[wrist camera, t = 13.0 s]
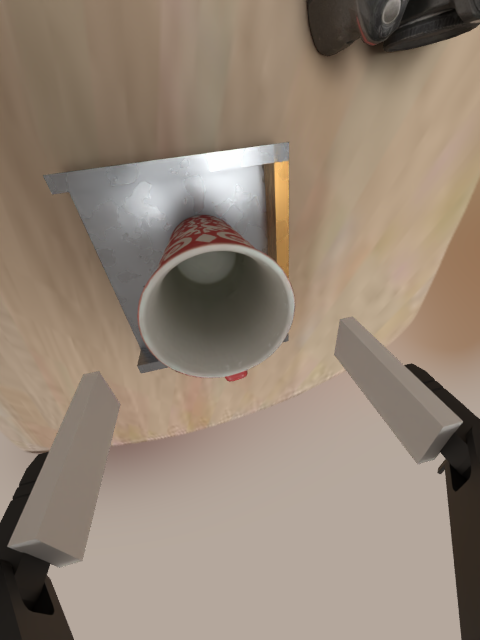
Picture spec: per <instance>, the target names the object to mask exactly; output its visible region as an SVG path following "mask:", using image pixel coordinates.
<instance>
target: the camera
mask: <svg viewBox="0 0 480 640" xmlns="http://www.w3.org/2000/svg"><path fill="white" fill-rule="evenodd" d="M308 18H309V23H310V28H311V33H312V37H313V40H314V43H315V46H316V48H317V50H318V52H320V53H321V54H324V55H327V56H330V55H333V54H336V53H338V52H340V51H341V50H343V49H345V48H347V47H348V46H349V45H351V44H352V43H353V42H354V41H356V40H357V39H358V38H359V37H361V38H362V40H363V42H364V43H366V44H369V45H371V46H372V45H376V44H378V43H380V42H382V41H384V45H383V49H384V51H386V52H393V51H399V50H408V49H412V48H417V47H421V46H425V45H429V44H433V43H436V42H440V41H443V40H447V39H450V38H453V37H456V36H458V35H461V34H463V33H466V32H468V31H471V30H472V29H474V28H476V27H477V26H478V25H479V24H480V0H308Z"/></svg>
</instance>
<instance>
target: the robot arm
mask: <svg viewBox="0 0 480 640" xmlns="http://www.w3.org/2000/svg"><path fill="white" fill-rule="evenodd" d="M334 355H335V356H336V358H337V359H338V360H339V362H340V363H341V364H342V366H343V367H344V368H345V370H346V371H347V372H348V374H349V375H350V376H351V377H352V379H353V380H354V381H355V383H356V384H357V385H358V387H359V388H360V389H361V391H362V392H363V393H364V394H365V396H366V397H367V398H368V400H369V401H370V402H371V404H372V405H373V406H374V408H375V409H376V410H377V412H378V413H379V414H380V416H381V417H382V418H383V419H384V421H385V422H386V423H387V425H388V426H389V427H390V429H391V430H392V431H393V433H394V434H395V435H396V436H397V438H398V439H399V440H400V442H401V443H402V444H403V446H404V447H405V448H406V450H407V451H408V452H409V454H410V455H411V456H412V458H413V459H414V460H415V461H416V463H417V464H421V463H424V462H427V461H431V460H434V459H435V458H436V457H437V456H438V454H439V453H440V452H441V454H442V455H443V456H444V457H445V458H446V460H445V461H444V462H443V463H442V464H441V466H440V467H439V468H438V473H439V474H441V473H442V472H443V471H444V470H445V475H446V485H447V495H448V504H449V505H448V506H449V516H450V526H451V536H452V546H453V556H454V567H455V577H456V587H457V597H458V607H459V618H460V628H461V638H462V640H480V419H479V418H478V417H476V416H475V415H474V414H473V413H472V412H471V411H470V410H469V409H467V408H466V407H465V406H464V405H463V404H462V403H461V402H460V401H458V400H457V399H456V398H455V397H454V396H453V395H452V394H451V393H449V392H448V391H447V390H446V389H444V388H443V386H441V385H440V384H439V383H438V382H437V381H435V380H434V378H433V377H431V376H430V375H429V374H428V373H427V372H426V371H425V370H423V369H421V368H419V367H417V366H416V365H414V364H407V365H403V364H402V363H401V362H400V361H399V360H398V359H397V358H396V357H395V356H394V355H393V354H391V352H389V351H388V350H387V349H386V348H385V347H384V346H383V345H382V344H381V343H380V342H379V341H378V340H377V339H376V338H375V337H374V336H373V335H372V334H371V333H369V332H368V331H367V330H366V329H365V328H364V327H363V326H362V325H361V324H360V323H359V322H358V321H357V320H356V319H355V318H354V317H348V318H344V319H340V322H339V329H338V335H337V341H336V347H335V353H334ZM119 408H120V403H119V401H118V400H117V398H116V397H115V395H114V393H113V392H112V390H111V389H110V387H109V386H108V384H107V383H106V381H105V380H104V378H103V377H102V375H101V373H100V372H99V371H97V372H93V373H88V374H83V376H82V379H81V381H80V383H79V385H78V388H77V390H76V392H75V394H74V397H73V399H72V401H71V403H70V406H69V408H68V410H67V413H66V415H65V417H64V419H63V422H62V424H61V426H60V428H59V431H58V433H57V435H56V437H55V440H54V442H53V444H52V446H51V449H50V451H49V452H46V453H42V454H38V456H37V457H36V458H35V459H34V461H33V462H32V463H31V464H30V465H29V467H28V468H27V469H26V471H25V473H24V475H23V477H22V479H21V481H20V484H19V487H18V488H17V490H16V492H15V494H14V496H13V500H12V501H11V502H10V504H9V506H8V508H7V510H6V512H5V514H4V516H3V518H2V520H1V522H0V640H74V639H73V636H72V633H71V631H70V628H69V626H68V623H67V620H66V618H65V616H64V613H63V610H62V608H61V605H60V603H59V600H58V597H57V595H56V592H55V590H54V587H53V585H52V582H51V580H50V578H49V577H48V576H47V572H48V569H49V566H50V564H52V565H55V566H57V567H63V566H66V565H70V564H73V563H76V562H80V561H82V559H83V555H84V552H85V547H86V543H87V539H88V535H89V531H90V527H91V523H92V519H93V515H94V510H95V506H96V502H97V498H98V494H99V489H100V486H101V481H102V477H103V473H104V469H105V465H106V461H107V457H108V453H109V449H110V445H111V440H112V436H113V432H114V428H115V424H116V420H117V416H118V412H119Z"/></svg>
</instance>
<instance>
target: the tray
mask: <svg viewBox="0 0 480 640" xmlns="http://www.w3.org/2000/svg"><path fill="white" fill-rule="evenodd" d="M43 177H44V179H45V181H46V183H47V185H48V187H49V189H50V191H51V193H52V194H59V193H66V192H69V193H70V195H71V197H72V200H73V202H74V204H75V206H76V208H77V210H78V213H79V215H80V217H81V219H82V221H83V224H84V226H85V228H86V230H87V232H88V235H89V237H90V239H91V241H92V243H93V245H94V248H95V250H96V252H97V254H98V256H99V259H100V261H101V263H102V265H103V267H104V269H105V272H106V274H107V276H108V278H109V280H110V283H111V285H112V287H113V289H114V291H115V293H116V296H117V298H118V300H119V302H120V304H121V307H122V309H123V311H124V313H125V315H126V317H127V320H128V322H129V324H130V326H131V328H132V331H133V333H134V335H135V337H136V339H137V341H138V344H139V346H140V348H141V352H140V356H139V361H138V365H137V366H138V368H139V370H140V372H141V373H145V372H149V371H154V370H158V369H163V368H168V367H167V366H166V365H164V364H163V363H162V362H160V361H159V360H158V359H157V358H156V357H155V356H154V355H153V354H152V353H151V352H150V351H149V349H148V348H147V346H146V344H145V343H144V341H143V339H142V337H141V334H140V330H139V326H138V318H137V314H138V305H139V300H140V297H141V294H142V291H143V289H144V287H145V285H146V283H147V282H148V280H149V279H150V277H151V276H152V275H153V274H154V272H155V271H156V270H157V268H158V265H159V263H160V261H161V259H162V256H163V254H164V252H165V249H166V247H167V245H168V243H169V240H170V237H171V235H172V233H173V231H174V230H175V229H176V227H177V226H178V225H179V224H180V223H181V222H183V221H184V220H186V219H188V218H190V217H193V216H198V215H209V216H213V217H216V218H219V219H221V220H223V221H224V222H226V223H227V224H228V225H229V226H230V227H232V228H233V229H234V230H235V231H236V232H237V233H239V234H240V235H241V236H242V237H243V238H244V239H245V240H246V241H248V242H249V243H250V244H251V245H252V246H253V247H254V248H255V249H257V250H259V251H261V252H263V253H265V254H266V255H268V256H269V257H271V258H272V259H273V260H274V261H276V262H277V263H278V265H279V266H280V267H281V268H282V269H283V271H284V272H285V273H286V275H287V277H288V278H289V142H286V143H279V144H271V145H264V146H256V147H249V148H242V149H234V150H227V151H219V152H212V153H205V154H197V155H190V156H182V157H175V158H168V159H160V160H153V161H145V162H138V163H131V164H123V165H116V166H108V167H101V168H93V169H86V170H79V171H71V172H64V173H56V174H49V175H43ZM286 341H288V334H287V336H286V338H285V339H284V341H283V342H286Z"/></svg>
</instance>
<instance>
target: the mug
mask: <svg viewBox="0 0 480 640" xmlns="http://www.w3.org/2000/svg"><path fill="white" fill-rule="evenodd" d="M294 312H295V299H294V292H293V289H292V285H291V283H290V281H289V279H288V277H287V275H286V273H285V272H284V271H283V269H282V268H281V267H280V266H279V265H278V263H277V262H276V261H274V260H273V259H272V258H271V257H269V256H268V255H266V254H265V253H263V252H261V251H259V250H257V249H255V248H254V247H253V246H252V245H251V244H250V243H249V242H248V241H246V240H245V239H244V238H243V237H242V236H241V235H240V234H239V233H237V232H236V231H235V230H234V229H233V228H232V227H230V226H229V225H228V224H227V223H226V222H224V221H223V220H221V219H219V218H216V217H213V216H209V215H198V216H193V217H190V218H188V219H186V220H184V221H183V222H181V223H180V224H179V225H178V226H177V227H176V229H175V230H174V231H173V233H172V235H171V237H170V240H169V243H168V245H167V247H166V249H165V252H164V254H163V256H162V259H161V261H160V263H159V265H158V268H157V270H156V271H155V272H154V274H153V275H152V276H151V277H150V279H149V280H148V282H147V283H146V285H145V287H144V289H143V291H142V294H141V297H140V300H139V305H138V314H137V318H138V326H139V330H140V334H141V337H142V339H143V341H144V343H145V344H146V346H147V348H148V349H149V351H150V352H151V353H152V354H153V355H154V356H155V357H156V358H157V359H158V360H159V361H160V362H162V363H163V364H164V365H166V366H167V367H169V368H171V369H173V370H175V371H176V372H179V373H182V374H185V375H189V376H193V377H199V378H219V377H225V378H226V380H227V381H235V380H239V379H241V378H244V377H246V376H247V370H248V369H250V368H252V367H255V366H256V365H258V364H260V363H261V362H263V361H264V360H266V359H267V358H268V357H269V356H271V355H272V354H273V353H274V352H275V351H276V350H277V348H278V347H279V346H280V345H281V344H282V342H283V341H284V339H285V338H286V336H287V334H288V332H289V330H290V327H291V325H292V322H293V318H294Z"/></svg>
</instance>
